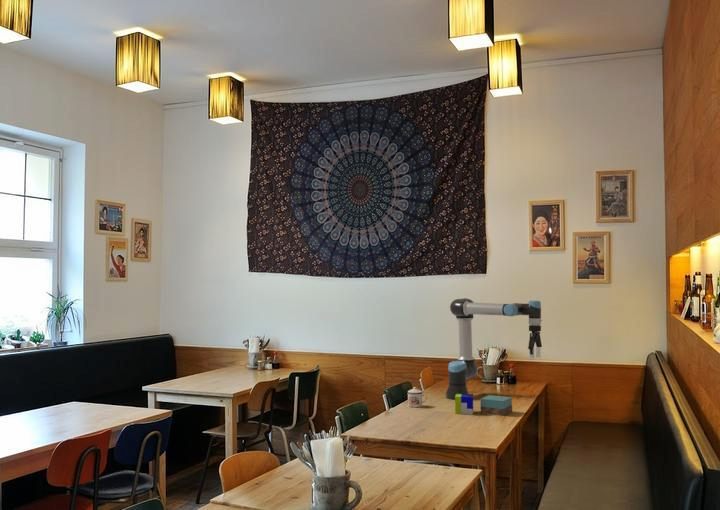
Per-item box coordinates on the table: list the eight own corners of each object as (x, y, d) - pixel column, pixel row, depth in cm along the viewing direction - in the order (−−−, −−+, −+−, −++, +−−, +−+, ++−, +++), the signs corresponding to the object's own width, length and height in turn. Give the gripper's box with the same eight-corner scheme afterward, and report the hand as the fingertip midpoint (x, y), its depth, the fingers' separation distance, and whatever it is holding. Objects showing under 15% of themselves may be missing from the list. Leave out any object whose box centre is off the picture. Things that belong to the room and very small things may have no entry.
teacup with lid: (406, 407, 404) (405, 387, 405) (409, 404, 413) (409, 385, 413) (425, 408, 401) (425, 388, 401) (428, 405, 409) (428, 386, 410)
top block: (480, 406, 386) (480, 398, 386) (489, 402, 398) (489, 395, 398) (503, 409, 378) (503, 401, 379) (511, 404, 390) (511, 397, 390)
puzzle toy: (472, 414, 382) (472, 397, 383) (455, 414, 384) (455, 396, 385) (473, 411, 392) (473, 394, 392) (456, 410, 394) (456, 393, 394)
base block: (480, 414, 386) (480, 406, 386) (489, 410, 398) (489, 402, 398) (503, 417, 378) (503, 409, 378) (512, 412, 390) (512, 405, 390)
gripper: (534, 326, 409) (535, 360, 408) (546, 323, 430) (546, 356, 430) (522, 325, 413) (523, 360, 412) (534, 323, 434) (535, 356, 433)
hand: (535, 358), depth 421 cm, fingers open, 13 cm apart
